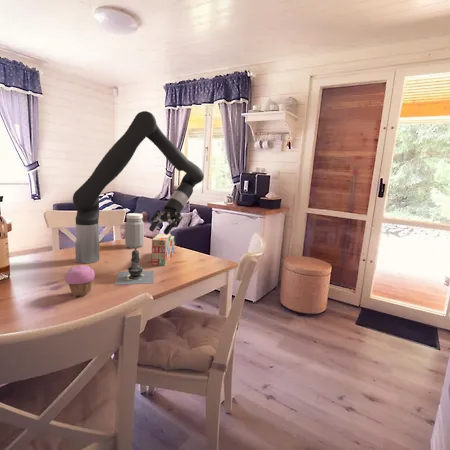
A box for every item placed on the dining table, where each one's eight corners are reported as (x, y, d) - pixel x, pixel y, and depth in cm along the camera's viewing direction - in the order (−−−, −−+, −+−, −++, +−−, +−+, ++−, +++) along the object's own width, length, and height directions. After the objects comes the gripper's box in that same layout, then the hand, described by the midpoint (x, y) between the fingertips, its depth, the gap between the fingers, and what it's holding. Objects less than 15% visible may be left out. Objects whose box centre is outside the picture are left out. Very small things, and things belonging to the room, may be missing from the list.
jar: (122, 247, 156) (121, 214, 153) (130, 243, 166) (130, 212, 163) (138, 249, 155) (138, 216, 152) (146, 245, 164) (146, 213, 161)
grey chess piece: (146, 275, 117) (146, 247, 115) (137, 280, 112) (137, 250, 110) (133, 273, 119) (133, 245, 117) (124, 278, 114) (124, 248, 111)
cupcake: (98, 288, 103) (97, 262, 101) (91, 299, 95) (90, 270, 93) (71, 289, 101) (69, 262, 100) (61, 300, 93) (60, 270, 91)
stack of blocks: (162, 252, 152) (162, 229, 150) (174, 253, 152) (174, 230, 150) (151, 265, 131) (151, 238, 129) (165, 266, 131) (165, 239, 129)
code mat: (114, 285, 107) (114, 284, 107) (118, 272, 120) (118, 271, 120) (153, 283, 111) (153, 283, 110) (153, 271, 124) (153, 270, 124)
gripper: (160, 196, 131) (141, 224, 123) (184, 199, 123) (165, 229, 116) (169, 207, 136) (150, 234, 129) (192, 210, 128) (174, 239, 121)
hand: (157, 232), depth 122 cm, fingers open, 8 cm apart
